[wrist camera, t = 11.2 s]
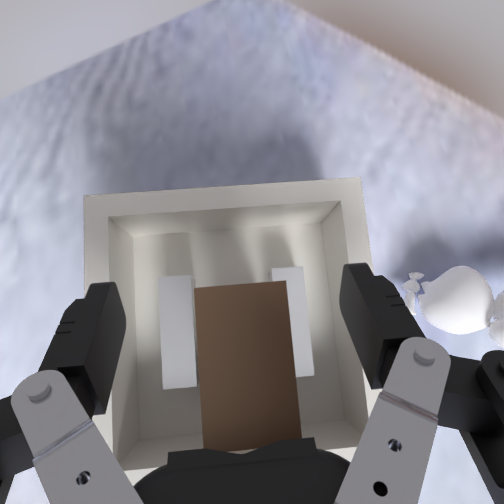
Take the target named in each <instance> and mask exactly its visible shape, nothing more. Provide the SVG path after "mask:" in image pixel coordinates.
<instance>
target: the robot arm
mask: <svg viewBox="0 0 504 504" xmlns="http://www.w3.org/2000/svg"><path fill="white" fill-rule="evenodd" d="M339 305H340V310H341V314H342V316H343V319H344V321H345V324H346V327H347V329H348V332H349V334H350V337H351V339H352V342H353V344H354V347H355V349H356V352H357V355H358V357H359V360H360V362H361V365H362V367H363V370H364V372H365V375H366V377H367V380H368V383H369V385H370V388H371V390H374V389H383V390H382V392H380V393H379V395H378V397H377V400H376V402H375V405H374V407H373V409H372V412H371V414H370V417H369V419H368V422H367V424H366V426H365V429H364V431H363V434H362V436H361V439H360V441H359V444H358V446H357V448H356V451H355V453H354V456H353V458H352V461H351V462H350V461H348V460H346V459H345V458H343V457H341V456H339V455H337V454H335V453H332V452H329V451H326V450H323V449H317V448H316V443H315V439H314V437H310V438H300V439H291V440H281V441H277V442H274V443H271V444H269V445H266V446H264V447H261V448H258V449H256V450H253V451H250V452H248V453H245V454H236V453H230V452H224V451H218V450H212V449H206V448H203V449H193V450H183V451H173V452H168V459H167V464H166V465H163V466H161V467H159V468H157V469H155V470H153V471H152V472H150V473H149V474H147V475H146V476H144V477H143V478H142V479H141V480H139V481H138V482H137V483H136V484H135V485H134V486H133V485H132V484H131V482H130V480H129V479H128V477H127V476H126V474H125V472H124V471H123V469H122V467H121V466H120V464H119V462H118V461H117V459H116V458H115V456H114V454H113V453H112V451H111V449H110V448H109V446H108V444H107V443H106V441H105V440H104V438H103V436H102V435H101V433H100V431H99V430H98V428H97V427H96V425H95V423H94V422H93V421H92V417H93V415H104V414H106V410H107V406H108V401H109V397H110V393H111V389H112V385H113V381H114V377H115V373H116V369H117V365H118V361H119V356H120V352H121V348H122V344H123V340H124V336H125V332H126V315H125V311H124V308H123V304H122V301H121V298H120V295H119V291H118V288H117V285H116V283H115V282H101V283H91V284H90V286H89V288H88V291H87V293H86V296H85V298H84V299H76V300H75V301H74V302H73V303H72V304H71V305H70V306H69V307H68V308H67V309H66V310H65V312H64V314H63V316H62V319H61V321H60V325H58V328H57V330H56V332H55V335H54V337H53V339H52V341H51V343H50V346H49V348H48V350H47V352H46V355H45V357H44V359H43V361H42V364H41V366H40V368H39V370H38V372H37V373H35V374H33V375H31V376H29V377H27V378H26V379H25V380H23V381H22V382H21V383H20V384H19V385H18V386H17V388H16V389H15V390H14V392H13V394H12V395H11V396H9V397H6V398H3V399H1V400H0V504H5V502H6V499H7V496H8V493H9V490H10V487H11V484H12V481H13V478H14V475H15V474H17V473H20V472H22V471H25V470H27V469H30V468H32V467H35V469H36V471H37V474H38V476H39V478H40V481H41V483H42V485H43V488H44V490H45V492H46V495H47V497H48V500H49V502H50V504H418V500H419V496H420V492H421V488H422V484H423V480H424V476H425V472H426V468H427V464H428V460H429V456H430V452H431V448H432V444H433V440H434V437H435V433H436V429H437V425H439V426H444V427H449V428H453V429H458V430H459V432H460V434H461V436H462V438H463V440H464V442H465V444H466V446H467V448H468V450H469V452H470V454H471V456H472V458H473V460H474V462H475V464H476V466H477V468H478V471H479V473H480V475H481V477H482V479H483V481H484V483H485V485H486V487H487V489H488V491H489V493H490V495H491V497H492V499H493V501H494V503H495V504H504V351H501V350H494V351H489V352H487V353H485V354H484V355H483V357H482V359H481V361H479V360H473V359H467V358H461V357H456V356H452V355H449V354H448V352H447V351H446V350H445V349H444V348H443V347H442V346H441V345H440V344H438V343H436V342H435V341H433V340H430V339H427V338H426V337H425V335H424V334H423V332H422V330H421V329H420V327H419V326H418V324H417V322H416V321H415V319H414V317H413V316H412V314H411V312H410V311H409V309H408V307H407V306H405V302H404V301H403V299H402V297H400V294H399V292H398V291H397V289H396V287H395V286H394V284H393V283H391V282H390V281H389V280H387V279H386V278H385V277H384V276H382V275H380V276H374V274H373V273H372V271H371V269H370V267H369V265H368V264H367V263H366V262H364V263H351V264H345V265H344V266H343V272H342V279H341V287H340V294H339Z"/></svg>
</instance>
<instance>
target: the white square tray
mask: <svg viewBox="0 0 504 504" xmlns="http://www.w3.org/2000/svg"><path fill="white" fill-rule="evenodd" d="M364 262H366V263H367V264H368V265H369V267H370V269H371V271H372V273H373V274H374V272H373V265H372V257H371V250H370V243H369V236H368V228H367V221H366V214H365V207H364V199H363V192H362V185H361V178H360V177H354V178H339V179H324V180H309V181H294V182H279V183H264V184H249V185H234V186H219V187H203V188H188V189H173V190H158V191H143V192H128V193H113V194H98V195H84V290H85V296H86V293H87V291H88V288H89V286H90V284H91V283H101V282H115V283H116V285H117V288H118V291H119V295H120V298H121V301H122V304H123V308H124V311H125V315H126V332H125V336H124V340H123V344H122V348H121V352H120V356H119V361H118V365H117V369H116V373H115V377H114V381H113V385H112V389H111V393H110V397H109V401H108V406H107V410H106V414H104V415H93V417H92V421H93V422H94V423H95V425H96V427H97V428H98V430H99V431H100V433H101V435H102V436H103V438H104V440H105V441H106V443H107V444H108V446H109V448H110V449H111V451H112V453H113V454H114V456H115V458H116V459H117V461H118V462H119V464H120V466H121V467H122V469H123V471H124V472H125V474H126V476H127V477H128V479H129V480H130V482H131V484H132V485H133V486H134V485H135V484H136V483H137V482H138V481H139V480H141V479H142V478H143V477H144V476H146V475H147V474H149V473H150V472H152V471H153V470H155V469H157V468H159V467H161V466H163V465H166V464H167V459H168V452H173V451H183V450H193V449H203V433H202V417H201V400H200V384H199V367H198V350H197V334H196V317H195V301H194V288H199V287H211V286H223V285H235V284H247V283H260V282H272V281H284V280H286V284H287V294H288V303H289V313H290V323H291V333H292V343H293V353H294V363H295V373H296V382H297V392H298V402H299V412H300V422H301V432H302V438H310V437H314V439H315V443H316V448H317V449H323V450H326V451H329V452H332V453H335V454H337V455H339V456H341V457H343V458H345V459H346V460H348V461H350V462H351V461H352V458H353V456H354V453H355V451H356V448H357V446H358V444H359V441H360V439H361V436H362V434H363V431H364V429H365V426H366V424H367V422H368V419H369V417H370V414H371V412H372V409H373V407H374V405H375V402H376V400H377V397H378V395H379V393H380V392H382V390H383V389H374V390H371V388H370V385H369V383H368V380H367V377H366V375H365V372H364V370H363V367H362V365H361V362H360V360H359V357H358V355H357V352H356V349H355V347H354V344H353V342H352V339H351V337H350V334H349V332H348V329H347V327H346V324H345V321H344V319H343V316H342V314H341V310H340V305H339V294H340V287H341V279H342V272H343V266H344V265H345V264H351V263H364ZM253 450H256V449H250V450H241V451H231V452H230V453H236V454H245V453H248V452H250V451H253Z"/></svg>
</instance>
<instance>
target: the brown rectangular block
mask: <svg viewBox="0 0 504 504" xmlns="http://www.w3.org/2000/svg"><path fill="white" fill-rule="evenodd" d="M194 301H195V317H196V334H197V350H198V367H199V384H200V400H201V417H202V433H203V448H206V449H212V450H218V451H224V452H231V451H241V450H250V449H258V448H261V447H264V446H266V445H269V444H271V443H274V442H277V441H281V440H291V439H300V438H302V432H301V422H300V412H299V402H298V392H297V382H296V373H295V363H294V353H293V343H292V333H291V323H290V313H289V303H288V294H287V284H286V280H284V281H272V282H260V283H247V284H235V285H223V286H211V287H199V288H194Z"/></svg>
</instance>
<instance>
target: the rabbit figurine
mask: <svg viewBox="0 0 504 504" xmlns="http://www.w3.org/2000/svg"><path fill="white" fill-rule="evenodd" d="M408 275H409V277H410V279H411V280H409V281H407V282H405V283H404V284H403V285H402V287H403V289H404V290H405V291H407V293H406V294H405V299H404V302H405V306H407V307H408V309H409V311H410V312H411V314H412V315H416V312H415V311H414V301H415V293H417V292H418V291H419V289H420V286H419V284H418V283H417V281H416V280H419V279H421V278H422V277H424V276H425V275H423V274H422V273H418V272H414V273H408ZM420 285H421V286H422V288H423V291H424V293H425V294H420V295H418V299H419V305H420V310H421V313H422V315H423V317H424V318H425V319H426V320H427V321H428V322H429V323H430V324H432V325H433V326H435V327H437V328H438V329H441V330H443V331H446V332H449V333H453V334H467V333H472V332H475V331H478V330H480V329H483V328H486V327H489V330H488V333H489V335H490V337H491V338H492V340H493V341H494V342H495V343H496V344H497V345H498V346H499V347H501V348H503V349H504V291H503V292H502V293H500V294H499V295H498V296H497V298H496V299H495V300H494V299H493V295H492V291H491V288H490V286H489V284H488V283H487V281H486V279H485V278H484V277H483V276H482V275H481V274H480V273H479V272H477V271H476V270H475V269H473V268H470V267H467V266H456V267H452V268H450V269H449V270H447V271H446V272H444V273H443V274H442V275H441V276H440V277H438V278H437V279H435V280H433V281H432V282H429V281H425V282H422V283H421V284H420ZM491 317H493V319H497V320H496V321H494V322H492V323H491V322H490V319H491Z"/></svg>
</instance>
